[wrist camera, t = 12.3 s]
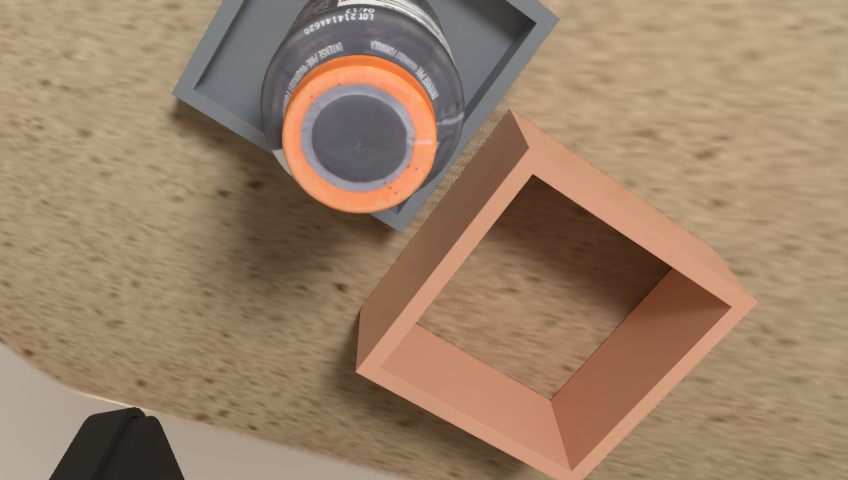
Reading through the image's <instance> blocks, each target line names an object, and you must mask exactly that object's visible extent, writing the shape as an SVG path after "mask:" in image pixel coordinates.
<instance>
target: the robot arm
mask: <svg viewBox="0 0 848 480" xmlns="http://www.w3.org/2000/svg"><path fill="white" fill-rule="evenodd" d="M49 480H184V477H183V475H182V473H181V470H180V468H179V466H178V463H177V461H176V459H175V456H174V454H173V452H172V449H171V447H170V445H169V442H168V440H167V438H166V435H165V433H164V431H163V428H162V426H161V424H160V422H159V420H158V419H157V418H156V417H154V416H147V417H146V416H145V414H144V412H142V411H141V410H140V409H139V408H136V407H132V408H126V409H121V410H115V411H110V412H105V413H98V414H94V415H91V416H89V417H88V418H87V419H86V420H85V422H84V423H83V425H82V426H81V428H80V430H79V431H78V433H77V435H76V436H75V438H74V439H73V441H72V443H71V444H70V446H69V448H68V449H67V451H66V453H65V454H64V456H63V458H62V459H61V461H60V463H59V464H58V466H57V468H56V469H55V471H54V473H53V474H52V476H51V477H50V479H49Z"/></svg>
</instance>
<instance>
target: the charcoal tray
mask: <svg viewBox="0 0 848 480" xmlns="http://www.w3.org/2000/svg"><path fill="white" fill-rule="evenodd" d="M308 1H309V0H223V2H222V4H221V6H220V7H219V9H218V11H217V13H216V15H215V16H214V18H213V20H212V22H211V24H210V25H209V27H208V29H207V31H206V32H205V34H204V36H203V38H202V40H201V41H200V43H199V45H198V47H197V49H196V50H195V52H194V54H193V56H192V58H191V59H190V61H189V63H188V65H187V67H186V68H185V70H184V72H183V74H182V76H181V77H180V79H179V81H178V83H177V84H176V86H175V88H174V90H173V92H172V93H171V94H172V95H174V96H176V97H177V98H179V99H181V100H182V101H184V102H186V103H187V104H189V105H191V106H192V107H194V108H195V109H197V110H199V111H200V112H202V113H204V114H205V115H207V116H209V117H210V118H212V119H214V120H215V121H217V122H219V123H220V124H222V125H224V126H225V127H227V128H229V129H230V130H232V131H233V132H235V133H237V134H238V135H240V136H242V137H243V138H245V139H247V140H248V141H250V142H252V143H253V144H255V145H257V146H258V147H260V148H262V149H263V150H265V151H267V152H268V153H270V154H272V155H273V156H275V155H274V153H273V152H272V150H271V148H270V146H269V144H268V142H267V139H266V135H265V132H264V130H263V126H262V119H261V103H260V100H261V90H262V83H263V81H264V76H265V73H266V70H267V68H268V66H269V64H270V62H271V59H272V57H273V56H274V54H275V52H276V51H277V49H278V47H279V46H280V44H281V42H282V41H283V39H284V38H285V36H286V34H287V33H288V31H289V29H290V28H291V26H292V24H293V23H294V21H295V20H296V18H297V16H298V15H299V13H300V12H301V10H302V9H303V7H304V6H305V5H306V3H307V2H308ZM426 1H427V2H428V3H429V5H430V6H431V7H432V9H433V10H434V12H435V13H436V15H437V17H438V19H439V21H440V24H441V26H442V29H443V31H444V35H445V38H446V41H447V43H448V46H449V49H450V51H451V54H452V57H453V59H454V63H455V66H456V69H457V71H458V74H459V77H460V80H461V83H462V88H463V94H464V101H465V110H464V125H463V129H462V133H461V136H460V140H459V142H458V145H457V147H456V149H455V151H454V153H453V155H452V157H451V158H450V160H449V161H448V163H447V164H446V166H445V167H444V169H443V170H442V171H441V172H440V173H439V174H438V175H437V177H436V178H435V179H433V180H432V181H431V182H430V183H429V184H428V185H426V186H425V187H424V188H422V189H421V190H419V191H417V192H416V193H414V194H412V195H411V196H409V197H408V198H407V199H405V200H404V201H402V202H401V203H400V204H398V205H396V206H394V207H391V208H388V209H385V210H382V211H378V212H373V213H369V214H371V215H372V216H374V217H376V218H377V219H379V220H381V221H382V222H384V223H386V224H387V225H389V226H390V227H392V228H394V229H395V230H397V231H399V232H400V233H402V232H403V231H404V229H405V228H406V227H407V225H408V224H409V222H410V221H411V220H412V218H413V217H414V216H415V214H416V213H417V212H418V210H419V209H420V208H421V206H422V205H423V204H424V202H425V201H426V199H427V198H428V197H429V195H430V194H431V193H432V191H433V190H434V189H435V187H436V186H437V185H438V183H439V182H440V181H441V179H442V178H443V176H444V175H445V174H446V172H447V171H448V170H449V168H450V167H451V166H452V164H453V163H454V162H455V160H456V159H457V158H458V156H459V155H460V153H461V152H462V151H463V149H464V148H465V147H466V145H467V144H468V143H469V141H470V140H471V139H472V137H473V136H474V135H475V133H476V132H477V131H478V129H479V128H480V126H481V125H482V124H483V122H484V121H485V120H486V118H487V117H488V116H489V114H490V113H491V112H492V110H493V109H494V108H495V106H496V105H497V103H498V102H499V101H500V99H501V98H502V97H503V95H504V94H505V93H506V91H507V90H508V89H509V87H510V86H511V85H512V83H513V82H514V80H515V79H516V78H517V76H518V75H519V74H520V72H521V71H522V70H523V68H524V67H525V66H526V64H527V63H528V62H529V60H530V59H531V57H532V56H533V55H534V53H535V52H536V51H537V49H538V48H539V47H540V45H541V44H542V43H543V41H544V40H545V39H546V37H547V36H548V34H549V33H550V32H551V30H552V29H553V28H554V26H555V25H556V24H557V22H558V21H559V20H560V18H558V17H557V16H556V15H555V14H554V13H553V12H551V11H550V10H549V9H548V8H546V7H545V6H544V5H542V4H541V3H540V2H538V1H537V0H426Z"/></svg>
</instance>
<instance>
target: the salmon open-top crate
mask: <svg viewBox="0 0 848 480" xmlns="http://www.w3.org/2000/svg"><path fill="white" fill-rule="evenodd" d="M532 174H534V175H535V176H537V177H538V178H540V179H541V180H543V181H544V182H546V183H547V184H549V185H550V186H552V187H553V188H555V189H556V190H558V191H559V192H561V193H562V194H564V195H565V196H567V197H568V198H570V199H571V200H573V201H574V202H576V203H577V204H579V205H580V206H582V207H583V208H585V209H586V210H588V211H589V212H591V213H592V214H594V215H595V216H597V217H598V218H600V219H601V220H603V221H604V222H606V223H607V224H609V225H610V226H612V227H613V228H615V229H616V230H618V231H619V232H621V233H622V234H624V235H625V236H627V237H628V238H630V239H631V240H633V241H634V242H636V243H637V244H639V245H640V246H642V247H643V248H645V249H646V250H648V251H649V252H651V253H652V254H654V255H655V256H657V257H658V258H660V259H661V260H663V261H664V262H666V263H667V264H669V265H670V266H672V267H673V268H672V269H671V270H670V271H669V272H668V273H667V274H666V275H665V276H664V277H663V278H662V280H661V281H660V282H659V283H658V284H657V285H656V286H655V287H654V288H653V289H652V290H651V292H650V293H649V294H648V295H647V296H646V297H645V298H644V299H643V300H642V301H641V302H640V304H639V305H638V306H637V307H636V308H635V309H634V310H633V311H632V312H631V313H630V314H629V316H628V317H627V318H626V319H625V320H624V321H623V322H622V323H621V324H620V325H619V326H618V328H617V329H616V330H615V331H614V332H613V333H612V334H611V335H610V336H609V337H608V338H607V339H606V341H605V342H604V343H603V344H602V345H601V346H600V347H599V348H598V349H597V350H596V351H595V353H594V354H593V355H592V356H591V357H590V358H589V359H588V360H587V361H586V362H585V363H584V365H583V366H582V367H581V368H580V369H579V370H578V371H577V372H576V373H575V374H574V375H573V377H572V378H571V379H570V380H569V381H568V382H567V383H566V384H565V385H564V386H563V387H562V389H561V390H560V391H559V392H558V393H557V394H556V395H555V396H554V397H553V398H552V399H551V401H550V400H548V399H546V398H545V397H543V396H541V395H539V394H538V393H536V392H534V391H532V390H531V389H529V388H527V387H525V386H523V385H522V384H520V383H518V382H516V381H515V380H513V379H511V378H509V377H508V376H506V375H504V374H502V373H501V372H499V371H497V370H495V369H494V368H492V367H490V366H488V365H487V364H485V363H483V362H481V361H480V360H478V359H476V358H474V357H473V356H471V355H469V354H467V353H466V352H464V351H462V350H460V349H459V348H457V347H455V346H453V345H452V344H450V343H448V342H446V341H444V340H443V339H441V338H439V337H437V336H436V335H434V334H432V333H430V332H429V331H427V330H425V329H423V328H422V327H420V326H418V325H416V324H415V323H416V321H417V320H418V319H419V317H420V316H421V315H422V314H423V312H424V311H425V310H426V309H427V307H428V306H429V305H430V304H431V302H432V301H433V300H434V298H435V297H436V296H437V295H438V293H439V292H440V291H441V290H442V288H443V287H444V286H445V285H446V283H447V282H448V281H449V279H450V278H451V277H452V276H453V274H454V273H455V272H456V271H457V269H458V268H459V267H460V266H461V264H462V263H463V262H464V260H465V259H466V258H467V257H468V255H469V254H470V253H471V252H472V250H473V249H474V248H475V246H476V245H477V244H478V243H479V241H480V240H481V239H482V238H483V236H484V235H485V234H486V233H487V231H488V230H489V229H490V227H491V226H492V225H493V224H494V222H495V221H496V220H497V219H498V217H499V216H500V215H501V214H502V212H503V211H504V210H505V208H506V207H507V206H508V205H509V203H510V202H511V201H512V200H513V198H514V197H515V196H516V195H517V193H518V192H519V191H520V189H521V188H522V187H523V186H524V184H525V183H526V182H527V181H528V179H529V178H530V177H531V176H532ZM756 304H757V301H756V300H755V299H754V298H753V297H752V296H751V294H750V293H749V292H748V291H747V290H746V288H745V287H744V286H743V285H742V284H741V283H740V281H739V280H738V279H737V278H736V277H735V276H734V274H733V273H732V272H731V271H730V270H729V268H728V267H727V266H726V265H725V264H724V263H723V261H722V260H721V259H720V258H719V257H718V256H717V254H716V253H715V252H714V251H713V250H712V249H711V247H710V246H708V245H707V244H705V243H704V242H702V241H701V240H700V239H698V238H697V237H695V236H694V235H692V234H691V233H689V232H688V231H686V230H685V229H684V228H682V227H681V226H679V225H678V224H676V223H675V222H673V221H672V220H671V219H669V218H668V217H666V216H665V215H663V214H662V213H660V212H659V211H658V210H656V209H655V208H653V207H652V206H650V205H649V204H647V203H646V202H644V201H643V200H642V199H640V198H639V197H637V196H636V195H634V194H633V193H631V192H630V191H629V190H627V189H626V188H624V187H623V186H621V185H620V184H618V183H617V182H616V181H614V180H613V179H611V178H610V177H608V176H607V175H605V174H604V173H602V172H601V171H600V170H598V169H597V168H595V167H594V166H592V165H591V164H589V163H588V162H587V161H585V160H584V159H582V158H581V157H579V156H578V155H576V154H575V153H574V152H572V151H571V150H569V149H568V148H566V147H565V146H563V145H562V144H560V143H559V142H558V141H556V140H555V139H553V138H552V137H550V136H549V135H547V134H546V133H545V132H543V131H542V130H540V129H539V128H537V127H536V126H534V125H533V124H532V123H530V122H529V121H527V120H526V119H524V118H523V117H521V116H520V115H518V114H517V113H516V112H514V111H513V110H511V109H510V110H509V111H508V112H507V114H506V115H505V116H504V118H503V119H502V120H501V122H500V123H499V124H498V126H497V127H496V128H495V130H494V131H493V132H492V134H491V135H490V136H489V138H488V139H487V140H486V142H485V143H484V144H483V146H482V147H481V148H480V150H479V151H478V152H477V154H476V155H475V156H474V158H473V159H472V160H471V162H470V163H469V164H468V166H467V167H466V168H465V170H464V171H463V172H462V174H461V175H460V176H459V178H458V179H457V180H456V182H455V183H454V184H453V186H452V187H451V188H450V190H449V191H448V192H447V194H446V195H445V196H444V198H443V199H442V200H441V202H440V203H439V205H438V206H437V207H436V209H435V210H434V211H433V213H432V214H431V215H430V217H429V218H428V219H427V221H426V222H425V223H424V225H423V226H422V227H421V229H420V230H419V231H418V233H417V234H416V235H415V237H414V238H413V239H412V241H411V242H410V243H409V245H408V246H407V247H406V249H405V250H404V251H403V253H402V254H401V255H400V257H399V258H398V259H397V261H396V262H395V263H394V265H393V266H392V267H391V269H390V270H389V271H388V273H387V274H386V275H385V277H384V278H383V279H382V281H381V282H380V283H379V285H378V286H377V287H376V289H375V290H374V291H373V293H372V294H371V295H370V297H369V298H368V299H367V301H366V302H365V303H364V305H363V306H362V307H361V311H360V323H359V336H358V348H357V361H356V373H358V374H360V375H362V376H364V377H366V378H368V379H369V380H371V381H373V382H375V383H377V384H379V385H381V386H383V387H384V388H386V389H388V390H390V391H392V392H394V393H396V394H397V395H399V396H401V397H403V398H405V399H407V400H409V401H411V402H412V403H414V404H416V405H418V406H420V407H422V408H424V409H426V410H427V411H429V412H431V413H433V414H435V415H437V416H439V417H440V418H442V419H444V420H446V421H448V422H450V423H452V424H454V425H455V426H457V427H459V428H461V429H463V430H465V431H467V432H469V433H470V434H472V435H474V436H476V437H478V438H480V439H482V440H483V441H485V442H487V443H489V444H491V445H493V446H495V447H497V448H498V449H500V450H502V451H504V452H506V453H508V454H510V455H511V456H513V457H515V458H517V459H519V460H521V461H523V462H525V463H526V464H528V465H530V466H532V467H534V468H536V469H538V470H540V471H541V472H543V473H545V474H547V475H549V476H551V477H553V478H554V479H556V480H583V479H584V477H585V476H586V475H587V474H588V473H589V472H590V471H591V470H592V469H593V468H594V467H595V466H596V465H597V464H598V463H599V462H600V461H601V460H602V459H603V458H604V457H605V456H606V455H607V454H608V453H609V452H610V451H611V450H612V449H613V448H614V447H615V446H616V445H617V444H618V443H619V442H620V441H621V440H622V439H623V438H624V437H625V436H626V435H627V434H628V433H629V432H630V431H631V430H632V429H633V428H634V427H635V426H636V425H637V424H638V423H639V422H640V421H641V420H642V419H643V418H644V417H645V416H646V415H647V414H648V413H649V412H650V411H651V410H652V409H653V408H654V407H655V406H656V405H657V404H658V403H659V402H660V401H661V400H662V399H663V398H664V397H665V396H666V395H667V394H668V393H669V392H670V391H671V390H672V389H673V388H674V387H675V386H676V385H677V384H678V383H679V382H680V381H681V380H682V378H683V377H684V376H685V375H686V374H687V373H688V372H689V371H690V370H691V369H692V368H693V367H694V366H695V365H696V364H697V363H698V362H699V361H700V360H701V359H702V358H703V357H704V356H705V355H706V354H707V353H708V352H709V351H710V350H711V349H712V348H713V347H714V346H715V345H716V344H717V343H718V342H719V341H720V340H721V339H722V338H723V337H724V336H725V335H726V334H727V333H728V332H729V331H730V330H731V329H732V328H733V327H734V326H735V325H736V324H737V323H738V322H739V321H740V320H741V319H742V318H743V317H744V316H745V315H746V314H747V313H748V312H749V311H750V310H751V309H752V308H753V307H754V306H755V305H756Z"/></svg>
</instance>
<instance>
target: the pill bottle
mask: <svg viewBox="0 0 848 480" xmlns="http://www.w3.org/2000/svg"><path fill="white" fill-rule="evenodd" d="M260 103H261V119H262V126H263V130H264V132H265V135H266V139H267V142H268V144H269V146H270V148H271V150H272V152H273V153H274V155H275V157H276V158H277V160H278V161H279V163H280V164H281V165H282V167H283V168H284V169H285V170H286V171H287V172H288V173H289V175H290V176H291V177H292V178H293V179H295V180H296V181H297V182H298V184H299V185H300V186H301V187H302V188H303V190H304V191H305V192H307V193H308V194H309V195H310V196H311V197H313V198H314V199H315V200H317V201H319V202H321V203H323V204H324V205H326V206H328V207H330V208H333V209H336V210H339V211H344V212H350V213H373V212H378V211H382V210H385V209H388V208H391V207H394V206H396V205H398V204H400V203H401V202H402V201H404V200H405V199H407V198H408V197H409V196H411V195H412V194H414V193H416V192H417V191H419V190H421V189H422V188H424V187H425V186H426V185H428V184H429V183H430V182H431V181H432V180H433V179H435V178H436V177H437V175H438V174H439V173H440V172H441V171H442V170H443V169H444V167H445V166H446V164H447V163H448V161H449V160H450V158H451V157H452V155H453V153H454V151H455V149H456V147H457V145H458V142H459V140H460V136H461V133H462V129H463V125H464V110H465V101H464V94H463V88H462V83H461V80H460V77H459V74H458V71H457V69H456V66H455V63H454V59H453V57H452V54H451V51H450V49H449V46H448V43H447V41H446V38H445V35H444V31H443V29H442V26H441V24H440V21H439V19H438V17H437V15H436V13H435V12H434V10H433V9H432V7H431V6H430V5H429V3H428V2H427V1H426V0H309V1H308V2H307V3H306V5H305V6H304V7H303V9H302V10H301V12H300V13H299V15H298V16H297V18H296V20H295V21H294V23H293V24H292V26H291V28H290V29H289V31H288V33H287V34H286V36H285V38H284V39H283V41H282V42H281V44H280V46H279V47H278V49H277V51H276V52H275V54H274V56H273V57H272V59H271V62H270V64H269V66H268V68H267V70H266V73H265V76H264V81H263V83H262V90H261V100H260Z"/></svg>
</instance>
